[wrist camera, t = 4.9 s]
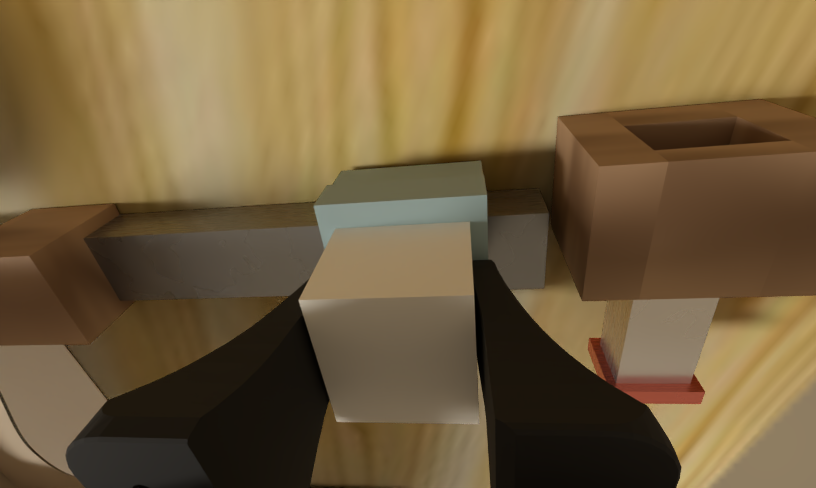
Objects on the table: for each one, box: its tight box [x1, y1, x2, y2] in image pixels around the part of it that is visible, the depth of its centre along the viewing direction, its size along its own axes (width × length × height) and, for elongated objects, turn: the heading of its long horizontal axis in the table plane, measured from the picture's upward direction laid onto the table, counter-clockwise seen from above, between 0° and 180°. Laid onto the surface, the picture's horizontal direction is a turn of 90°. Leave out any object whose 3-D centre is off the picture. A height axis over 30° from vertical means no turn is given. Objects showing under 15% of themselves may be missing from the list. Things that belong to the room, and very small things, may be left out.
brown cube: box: [0, 204, 136, 346], centre depth 17 cm, size 4×4×4 cm
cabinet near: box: [550, 99, 816, 301], centre depth 12 cm, size 4×6×5 cm, turn 97°
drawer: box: [588, 298, 719, 404], centre depth 14 cm, size 6×3×3 cm, turn 7°
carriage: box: [299, 161, 488, 424], centre depth 13 cm, size 6×5×7 cm
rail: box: [83, 188, 549, 301], centre depth 16 cm, size 3×17×2 cm, turn 97°
